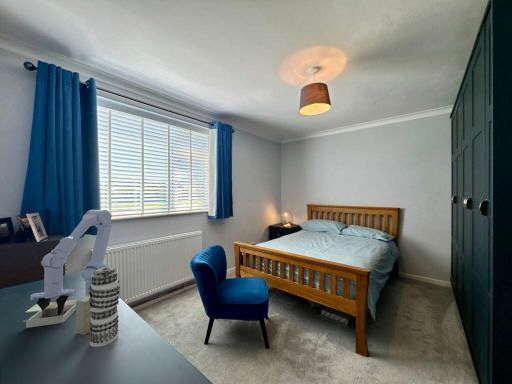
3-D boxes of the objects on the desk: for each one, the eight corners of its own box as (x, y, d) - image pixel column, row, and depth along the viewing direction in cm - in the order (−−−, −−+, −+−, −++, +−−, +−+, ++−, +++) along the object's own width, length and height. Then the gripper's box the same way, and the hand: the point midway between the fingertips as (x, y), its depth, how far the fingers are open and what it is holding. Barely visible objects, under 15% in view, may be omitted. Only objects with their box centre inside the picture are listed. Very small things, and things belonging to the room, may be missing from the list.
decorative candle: (88, 337, 79) (88, 268, 79) (118, 327, 84) (118, 263, 85) (87, 351, 71) (88, 275, 72) (120, 340, 77) (121, 269, 77)
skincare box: (84, 335, 80) (85, 302, 80) (74, 333, 80) (75, 301, 81) (100, 325, 86) (100, 294, 86) (91, 324, 87) (91, 293, 87)
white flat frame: (78, 307, 100) (78, 299, 100) (60, 325, 86) (60, 316, 86) (46, 311, 96) (46, 302, 96) (22, 330, 82) (22, 321, 82)
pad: (54, 303, 103) (54, 302, 103) (44, 310, 97) (44, 309, 97) (36, 305, 101) (36, 304, 101) (25, 313, 94) (25, 312, 95)
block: (63, 312, 95) (63, 301, 95) (54, 321, 88) (54, 309, 88) (52, 314, 94) (52, 302, 94) (41, 323, 87) (42, 310, 87)
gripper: (25, 287, 85) (24, 322, 85) (69, 283, 89) (69, 316, 89) (37, 281, 92) (36, 313, 92) (78, 277, 96) (77, 308, 96)
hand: (53, 314), depth 91 cm, fingers closed on block, 4 cm apart
